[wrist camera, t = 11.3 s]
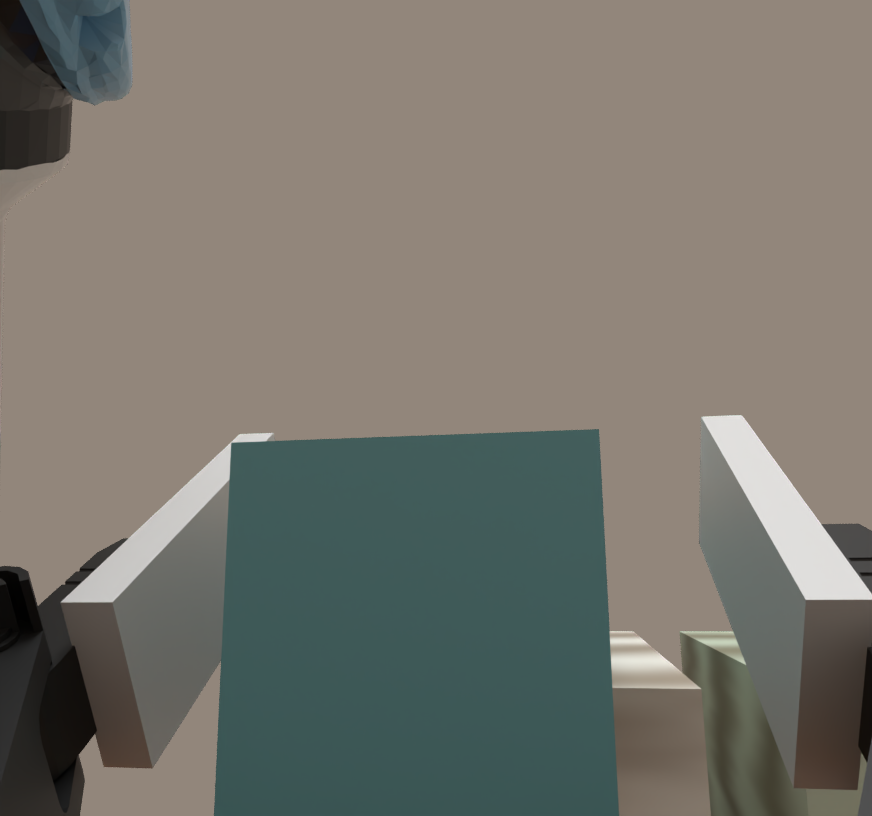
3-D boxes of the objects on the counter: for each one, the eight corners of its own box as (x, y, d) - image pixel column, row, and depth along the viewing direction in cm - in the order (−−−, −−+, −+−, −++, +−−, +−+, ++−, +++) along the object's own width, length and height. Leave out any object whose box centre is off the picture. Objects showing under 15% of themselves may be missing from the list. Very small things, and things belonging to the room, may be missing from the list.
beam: (620, 854, 7) (599, 429, 8) (213, 836, 8) (231, 442, 9) (575, 629, 36) (571, 541, 37) (489, 629, 37) (487, 543, 38)
